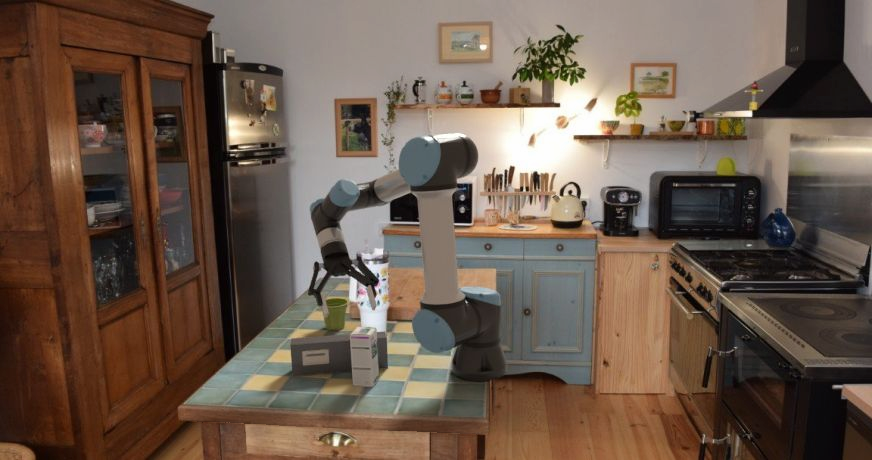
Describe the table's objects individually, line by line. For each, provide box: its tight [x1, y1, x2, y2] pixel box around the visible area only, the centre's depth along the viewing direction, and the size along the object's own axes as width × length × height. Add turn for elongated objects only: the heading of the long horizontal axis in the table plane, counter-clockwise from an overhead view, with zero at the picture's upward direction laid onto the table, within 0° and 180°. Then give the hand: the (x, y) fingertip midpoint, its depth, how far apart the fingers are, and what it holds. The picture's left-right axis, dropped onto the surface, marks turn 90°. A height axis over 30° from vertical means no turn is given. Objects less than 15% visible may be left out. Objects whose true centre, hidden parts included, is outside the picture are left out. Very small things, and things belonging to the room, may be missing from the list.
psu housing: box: [290, 331, 389, 377], centre depth 188 cm, size 26×6×9 cm, turn 99°
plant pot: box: [320, 297, 349, 331], centre depth 222 cm, size 9×9×9 cm
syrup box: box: [349, 326, 380, 388], centre depth 179 cm, size 6×6×14 cm
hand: (350, 311), depth 186 cm, fingers open, 13 cm apart
